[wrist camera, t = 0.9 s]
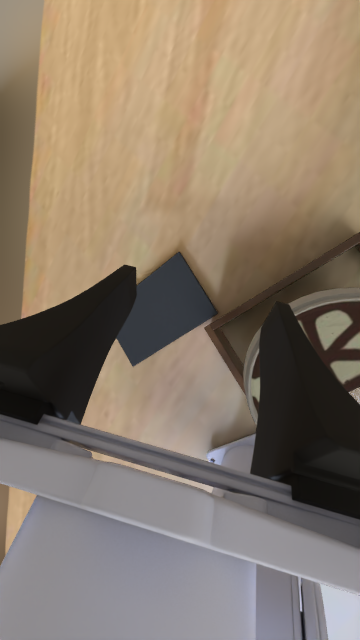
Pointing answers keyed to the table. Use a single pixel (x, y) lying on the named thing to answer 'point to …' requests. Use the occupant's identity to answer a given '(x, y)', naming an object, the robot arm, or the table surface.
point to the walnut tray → (216, 332)
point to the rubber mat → (164, 310)
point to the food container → (318, 339)
